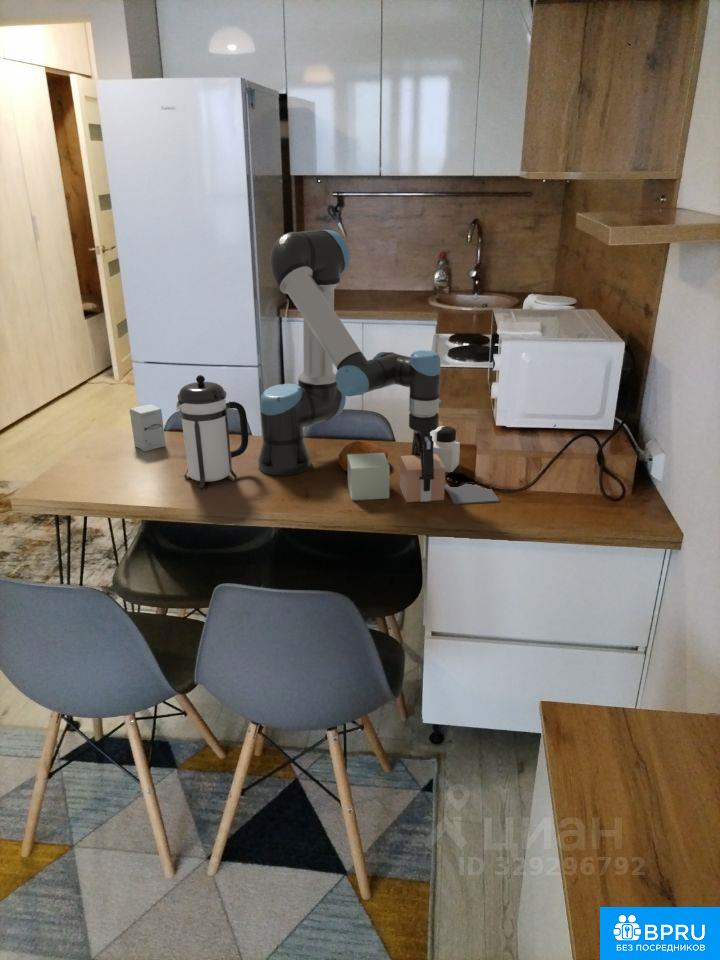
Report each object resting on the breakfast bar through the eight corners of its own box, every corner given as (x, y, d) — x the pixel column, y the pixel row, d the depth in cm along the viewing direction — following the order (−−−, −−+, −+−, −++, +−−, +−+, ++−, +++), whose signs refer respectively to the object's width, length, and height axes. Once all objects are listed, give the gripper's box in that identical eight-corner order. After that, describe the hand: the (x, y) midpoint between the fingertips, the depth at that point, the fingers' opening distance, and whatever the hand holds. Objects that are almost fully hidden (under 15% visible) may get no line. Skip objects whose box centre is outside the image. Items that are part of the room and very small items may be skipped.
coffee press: (229, 492, 187) (219, 384, 174) (174, 487, 190) (161, 381, 177) (251, 468, 202) (243, 367, 190) (200, 464, 205) (189, 364, 193)
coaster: (454, 504, 179) (454, 503, 178) (443, 485, 190) (443, 484, 189) (499, 501, 180) (499, 500, 180) (486, 483, 191) (486, 481, 191)
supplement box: (145, 452, 214) (139, 413, 209) (134, 446, 219) (128, 408, 214) (166, 446, 219) (161, 408, 214) (155, 440, 224) (150, 403, 219)
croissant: (333, 480, 199) (331, 456, 195) (347, 453, 212) (345, 430, 208) (382, 483, 196) (381, 459, 192) (393, 456, 209) (392, 433, 205)
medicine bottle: (459, 464, 203) (461, 426, 198) (451, 473, 197) (453, 433, 193) (436, 461, 206) (437, 422, 201) (427, 469, 200) (429, 430, 195)
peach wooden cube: (406, 502, 180) (407, 470, 177) (399, 486, 189) (400, 455, 186) (443, 500, 181) (445, 468, 178) (435, 484, 190) (436, 454, 187)
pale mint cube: (351, 500, 181) (351, 468, 178) (347, 484, 191) (347, 454, 187) (389, 498, 182) (389, 466, 179) (383, 482, 192) (383, 452, 188)
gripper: (448, 426, 166) (444, 509, 175) (429, 399, 187) (426, 474, 196) (417, 428, 165) (415, 511, 174) (401, 400, 186) (400, 476, 195)
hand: (421, 492), depth 185 cm, fingers closed on peach wooden cube, 10 cm apart
